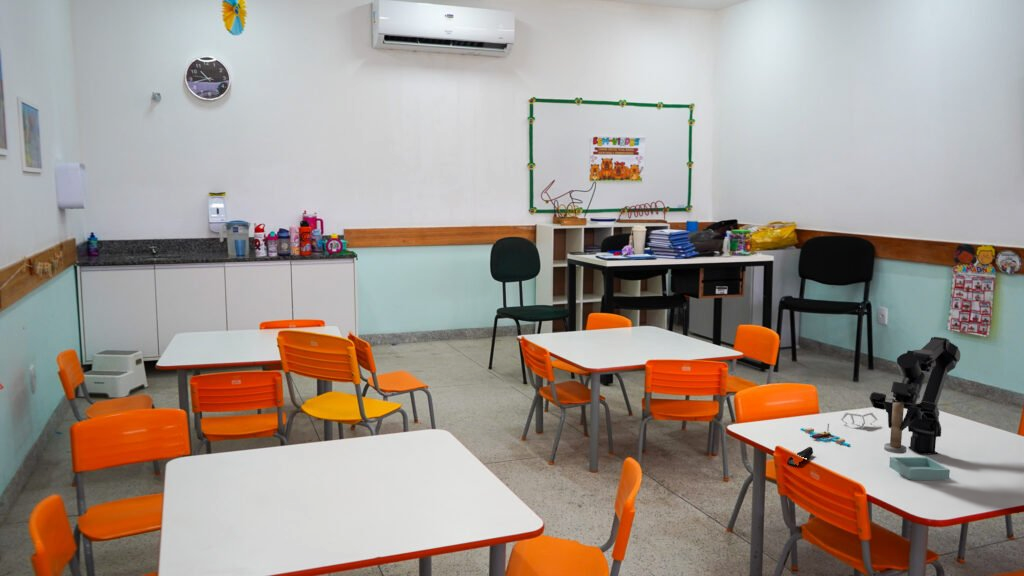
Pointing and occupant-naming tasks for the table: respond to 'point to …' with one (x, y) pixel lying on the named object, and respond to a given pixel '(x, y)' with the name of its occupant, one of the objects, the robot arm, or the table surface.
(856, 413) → the eyeglasses
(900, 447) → the rod
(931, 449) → the robot arm
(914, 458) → the tray
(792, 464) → the electric trimmer
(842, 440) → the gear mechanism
